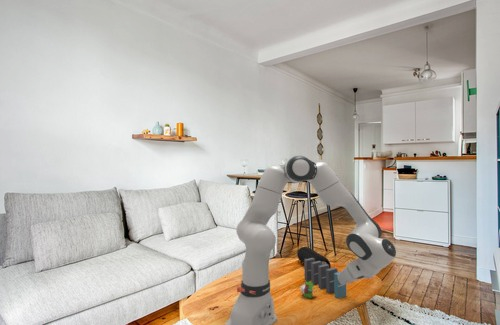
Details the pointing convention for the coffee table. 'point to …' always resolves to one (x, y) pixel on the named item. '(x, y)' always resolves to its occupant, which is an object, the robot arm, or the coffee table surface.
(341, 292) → the domino
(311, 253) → the portable speaker
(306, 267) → the domino
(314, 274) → the domino
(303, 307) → the coffee table surface
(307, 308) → the coffee table surface
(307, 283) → the geometric puzzle
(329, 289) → the domino
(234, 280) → the coffee table surface
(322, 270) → the domino
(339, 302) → the coffee table surface
